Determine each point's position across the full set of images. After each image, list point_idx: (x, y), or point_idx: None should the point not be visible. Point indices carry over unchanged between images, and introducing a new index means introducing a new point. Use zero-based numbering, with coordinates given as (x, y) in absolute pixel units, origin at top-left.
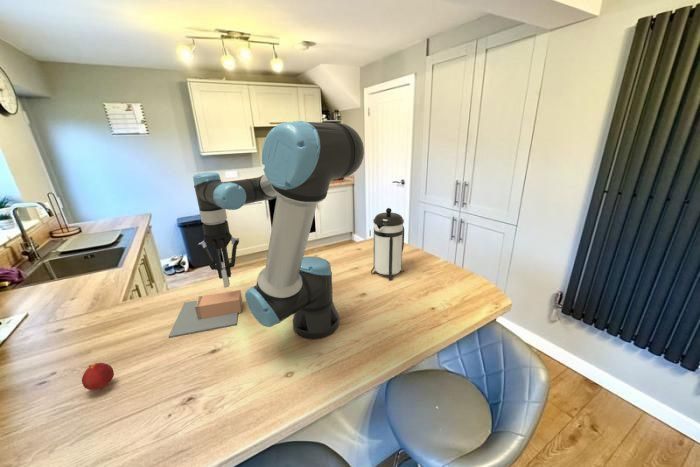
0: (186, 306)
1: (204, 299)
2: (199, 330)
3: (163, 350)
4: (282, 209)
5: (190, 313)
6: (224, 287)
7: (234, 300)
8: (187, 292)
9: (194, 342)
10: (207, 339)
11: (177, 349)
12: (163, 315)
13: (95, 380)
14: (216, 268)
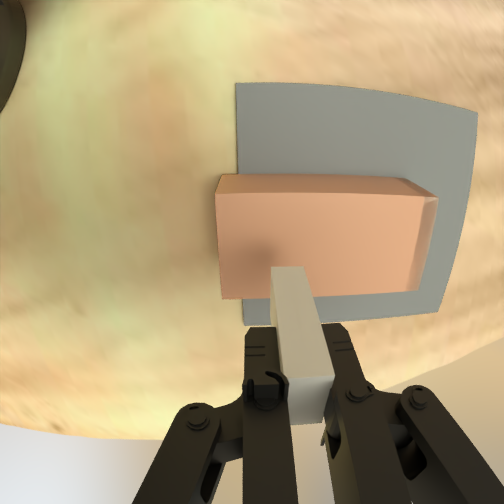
0: (435, 286)
1: (399, 257)
2: (391, 93)
3: (472, 51)
4: None
5: None
6: (302, 267)
7: (241, 193)
8: (418, 366)
9: (394, 36)
10: (349, 30)
11: (437, 30)
12: (486, 259)
13: None
14: (380, 404)
